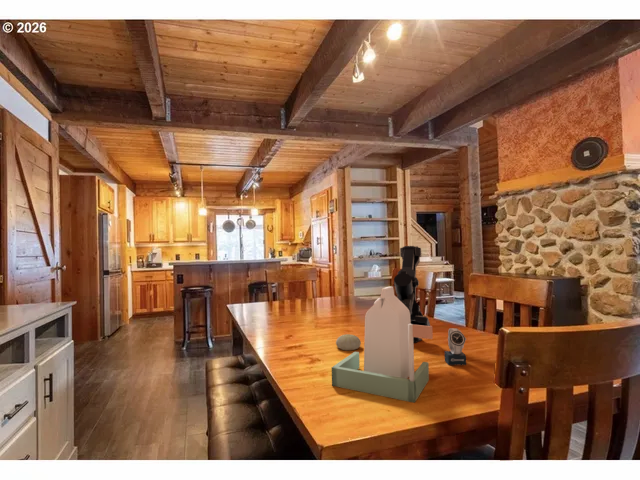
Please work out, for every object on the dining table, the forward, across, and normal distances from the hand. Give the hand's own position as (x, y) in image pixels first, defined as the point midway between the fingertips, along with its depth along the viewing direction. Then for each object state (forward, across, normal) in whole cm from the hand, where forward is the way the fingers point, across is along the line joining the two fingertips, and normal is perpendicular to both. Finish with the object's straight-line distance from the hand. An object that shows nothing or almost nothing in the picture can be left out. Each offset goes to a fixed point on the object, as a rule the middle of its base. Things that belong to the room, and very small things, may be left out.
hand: (394, 344), depth 109 cm
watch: (-4, +16, +15) cm, 22 cm away
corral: (+14, +2, -4) cm, 15 cm away
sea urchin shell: (-4, -22, +15) cm, 27 cm away
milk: (+9, 0, +1) cm, 9 cm away
